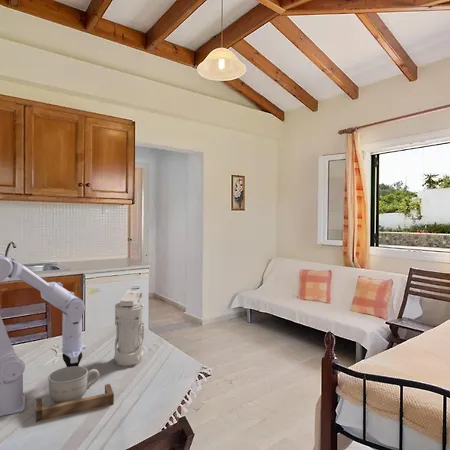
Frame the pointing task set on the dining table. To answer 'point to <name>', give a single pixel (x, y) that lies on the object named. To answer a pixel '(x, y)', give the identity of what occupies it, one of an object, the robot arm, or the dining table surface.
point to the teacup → (70, 383)
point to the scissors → (56, 355)
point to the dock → (74, 405)
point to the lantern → (129, 329)
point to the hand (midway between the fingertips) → (72, 376)
